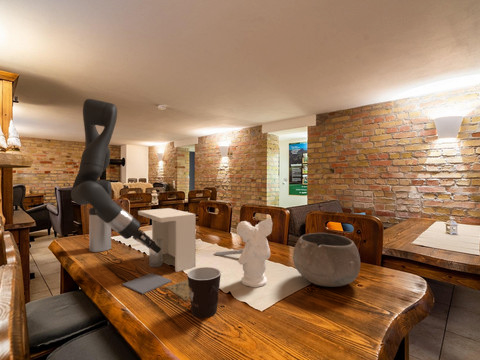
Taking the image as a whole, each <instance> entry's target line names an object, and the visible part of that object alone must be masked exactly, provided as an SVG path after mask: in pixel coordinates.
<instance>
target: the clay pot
mask: <svg viewBox="0 0 480 360" xmlns="http://www.w3.org/2000/svg"><path fill="white" fill-rule="evenodd" d="M358 249H359V248H358V247H357V245H356V244H355V242H354V241H353V240H351V239H350V238H348V237H346V236H343V235H340V234H334V233H328V232H314V233H311V232H310V233H306V234H303V235H301V236H300V237H299V238H298V239H297V242H296V243H295V245H294V247H293V251H292V252H293V253H292V262H293V264H294V267H295V269H296V270H297V272H298V273H299V274H300V275H301V276H302V277H303V278H304V279H306V280H307V281H308V282H310V283H312V284H314V285H317V286H321V287H326V288H334V287H335V288H337V287H343V286H346V285H348V284H351V283H353V282H354V281H355V280H356V279H357V278H358V276H359V274H360V270H361V258H360V252H359V250H358Z"/></svg>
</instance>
